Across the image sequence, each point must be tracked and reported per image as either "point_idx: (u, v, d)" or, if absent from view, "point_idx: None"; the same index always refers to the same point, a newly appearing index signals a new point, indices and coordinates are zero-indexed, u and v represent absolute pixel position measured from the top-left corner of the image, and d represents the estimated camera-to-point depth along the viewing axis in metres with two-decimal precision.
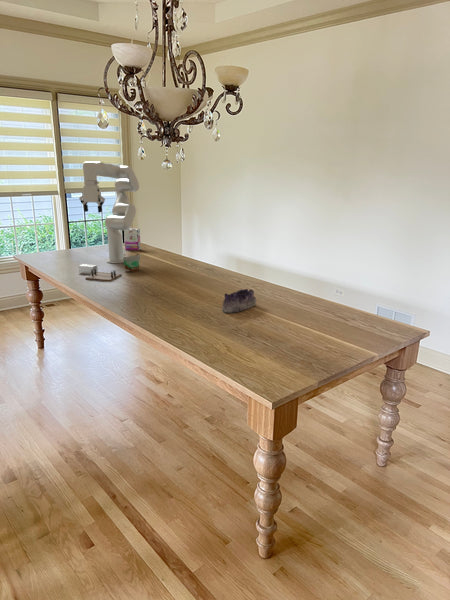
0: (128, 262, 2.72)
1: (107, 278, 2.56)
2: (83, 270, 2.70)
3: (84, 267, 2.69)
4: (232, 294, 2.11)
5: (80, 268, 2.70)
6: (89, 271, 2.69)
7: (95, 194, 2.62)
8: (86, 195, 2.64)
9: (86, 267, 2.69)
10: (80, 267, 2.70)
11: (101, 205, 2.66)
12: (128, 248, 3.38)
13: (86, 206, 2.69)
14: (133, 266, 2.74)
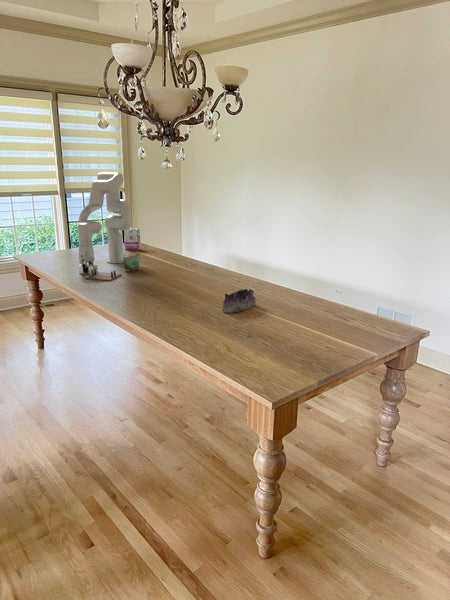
0: (128, 262, 2.72)
1: (107, 278, 2.56)
2: None
3: None
4: (232, 294, 2.11)
5: (80, 268, 2.70)
6: (89, 271, 2.69)
7: (93, 252, 2.71)
8: (87, 256, 2.66)
9: None
10: (80, 267, 2.70)
11: None
12: (128, 248, 3.38)
13: None
14: (133, 266, 2.74)
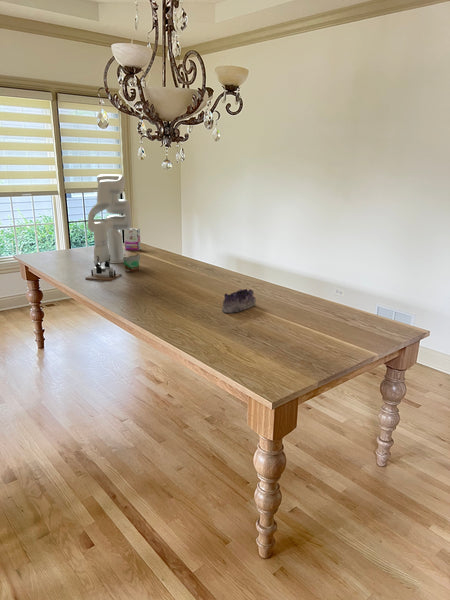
0: (128, 262, 2.72)
1: (107, 278, 2.56)
2: None
3: None
4: (232, 294, 2.11)
5: (95, 270, 2.59)
6: (105, 274, 2.58)
7: (108, 252, 2.60)
8: (103, 256, 2.55)
9: None
10: (95, 269, 2.59)
11: None
12: (128, 248, 3.38)
13: None
14: (133, 266, 2.74)
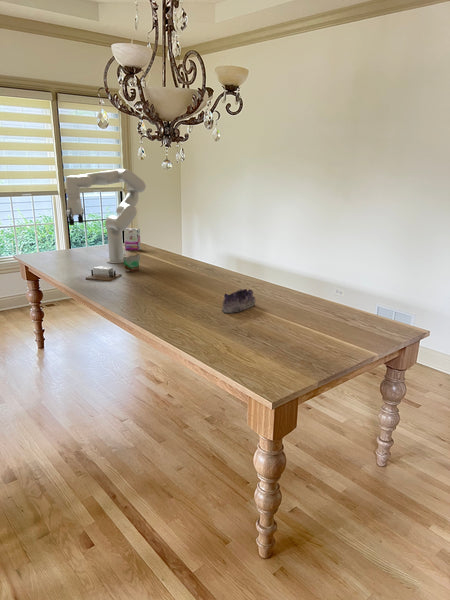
0: (128, 262, 2.72)
1: (107, 278, 2.56)
2: (98, 272, 2.59)
3: (99, 269, 2.58)
4: (232, 294, 2.11)
5: (95, 270, 2.59)
6: (105, 274, 2.58)
7: (81, 206, 2.76)
8: (75, 208, 2.71)
9: (101, 269, 2.58)
10: (95, 269, 2.59)
11: None
12: (128, 248, 3.38)
13: None
14: (133, 266, 2.74)
